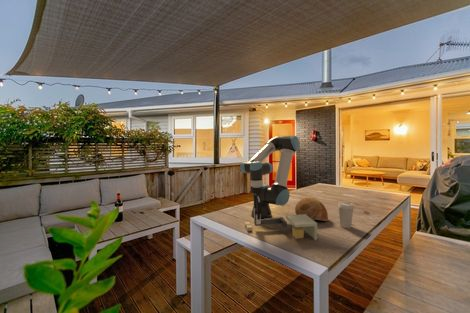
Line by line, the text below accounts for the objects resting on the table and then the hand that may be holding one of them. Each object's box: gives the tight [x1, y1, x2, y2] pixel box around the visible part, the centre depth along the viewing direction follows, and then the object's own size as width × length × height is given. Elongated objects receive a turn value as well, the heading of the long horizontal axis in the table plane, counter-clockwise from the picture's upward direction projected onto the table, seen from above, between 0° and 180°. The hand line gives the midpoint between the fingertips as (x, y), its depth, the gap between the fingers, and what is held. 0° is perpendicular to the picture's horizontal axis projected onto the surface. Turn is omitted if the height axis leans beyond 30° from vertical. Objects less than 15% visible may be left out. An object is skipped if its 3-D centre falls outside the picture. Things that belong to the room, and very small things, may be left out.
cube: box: [291, 226, 305, 239], centre depth 133 cm, size 5×5×5 cm
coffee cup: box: [337, 201, 355, 229], centre depth 146 cm, size 10×10×15 cm
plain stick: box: [244, 221, 253, 232], centre depth 146 cm, size 10×3×3 cm, turn 8°
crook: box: [253, 208, 288, 228], centre depth 141 cm, size 10×18×10 cm, turn 96°
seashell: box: [294, 197, 329, 222], centre depth 161 cm, size 21×20×15 cm
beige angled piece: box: [285, 214, 318, 241], centre depth 135 cm, size 16×13×10 cm
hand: (257, 222), depth 143 cm, fingers closed on crook, 4 cm apart
